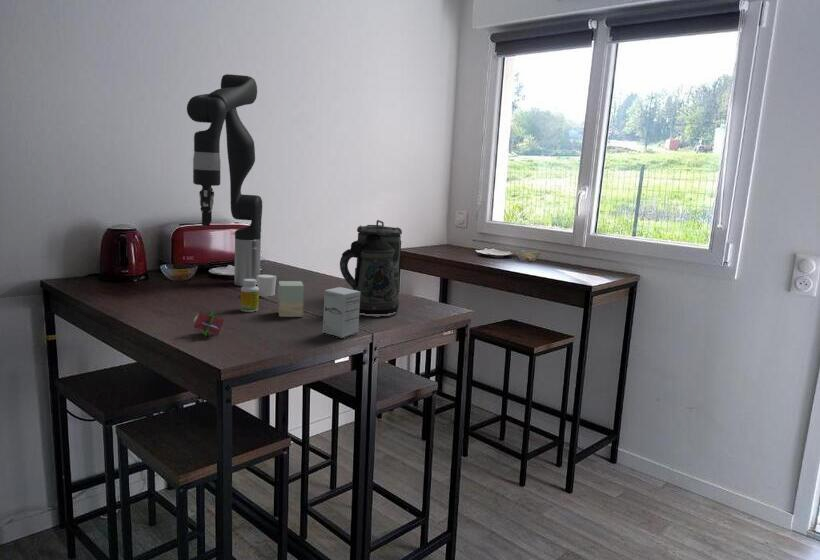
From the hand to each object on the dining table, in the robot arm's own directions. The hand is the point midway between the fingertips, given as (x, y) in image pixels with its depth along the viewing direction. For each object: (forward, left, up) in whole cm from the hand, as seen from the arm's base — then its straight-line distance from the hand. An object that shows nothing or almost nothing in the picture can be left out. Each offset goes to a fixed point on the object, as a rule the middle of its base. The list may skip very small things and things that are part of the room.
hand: (206, 224), depth 179 cm
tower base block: (+4, +25, -27) cm, 37 cm away
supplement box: (+27, +37, -27) cm, 53 cm away
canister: (-17, +57, -27) cm, 65 cm away
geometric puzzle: (+26, +2, -27) cm, 37 cm away
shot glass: (-22, +19, -27) cm, 40 cm away
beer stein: (+2, +51, -27) cm, 57 cm away
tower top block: (+4, +25, -22) cm, 33 cm away
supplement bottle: (-1, +13, -27) cm, 30 cm away
